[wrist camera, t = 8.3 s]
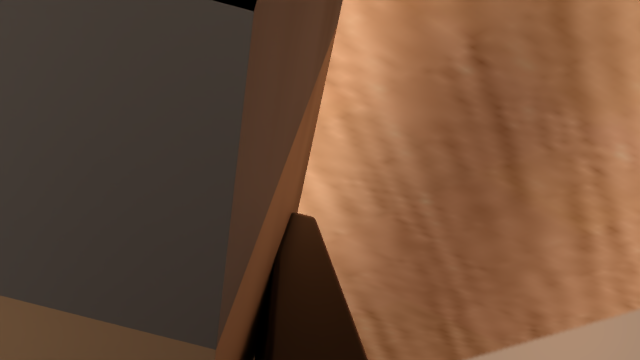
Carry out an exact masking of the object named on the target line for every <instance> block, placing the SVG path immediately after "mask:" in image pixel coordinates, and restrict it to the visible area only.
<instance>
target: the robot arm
mask: <svg viewBox="0 0 640 360" xmlns="http://www.w3.org/2000/svg"><path fill="white" fill-rule="evenodd" d="M254 360H368V359H367V356H366V353H365V351H364V348H363V345H362V343H361V340H360V337H359V334H358V332H357V329H356V326H355V324H354V321H353V318H352V316H351V313H350V310H349V308H348V305H347V302H346V300H345V297H344V294H343V292H342V289H341V286H340V284H339V281H338V278H337V276H336V273H335V270H334V267H333V265H332V262H331V259H330V257H329V254H328V251H327V249H326V246H325V243H324V241H323V238H322V235H321V233H320V230H319V227H318V225H317V222H316V220H315V218H314V217H311V216H307V215H303V214H299V213H291V216H290V218H289V221H288V224H287V226H286V229H285V232H284V234H283V237H282V240H281V242H280V245H279V248H278V251H277V254H276V257H275V260H274V263H273V268H272V273H271V278H270V283H269V288H268V293H267V298H266V303H265V308H264V312H263V317H262V322H261V327H260V332H259V337H258V342H257V347H256V352H255V357H254Z"/></svg>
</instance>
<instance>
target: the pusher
mask: <svg viewBox="0 0 640 360" xmlns="http://www.w3.org/2000/svg"><path fill="white" fill-rule="evenodd" d="M342 1H343V0H0V360H254V357H255V352H256V347H257V342H258V337H259V332H260V327H261V322H262V317H263V312H264V308H265V303H266V298H267V293H268V288H269V283H270V278H271V273H272V268H273V263H274V260H275V257H276V254H277V251H278V248H279V245H280V242H281V240H282V237H283V234H284V232H285V229H286V226H287V224H288V221H289V218H290V216H291V213H297V212H298V207H299V202H300V198H301V193H302V188H303V184H304V179H305V174H306V170H307V165H308V160H309V156H310V151H311V146H312V142H313V137H314V132H315V127H316V123H317V118H318V113H319V109H320V104H321V99H322V95H323V90H324V85H325V81H326V76H327V71H328V67H329V62H330V57H331V52H332V48H333V43H334V38H335V34H336V29H337V24H338V20H339V15H340V10H341V6H342Z"/></svg>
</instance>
